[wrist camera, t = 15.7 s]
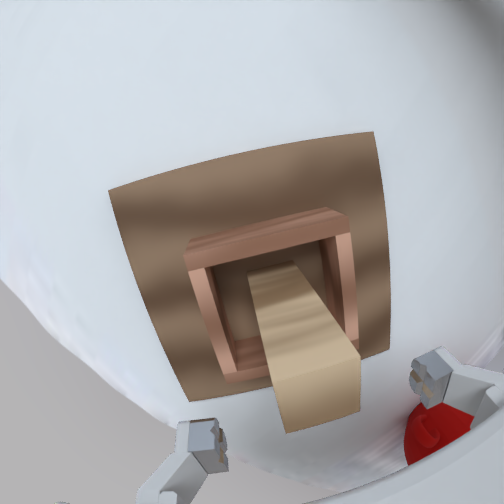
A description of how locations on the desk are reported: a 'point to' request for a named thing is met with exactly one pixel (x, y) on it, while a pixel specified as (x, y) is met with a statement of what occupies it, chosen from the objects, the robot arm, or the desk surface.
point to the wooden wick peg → (304, 349)
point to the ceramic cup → (433, 430)
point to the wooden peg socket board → (257, 252)
